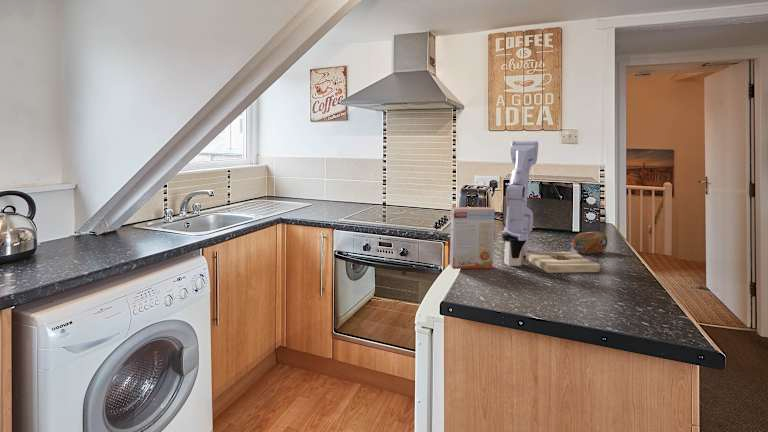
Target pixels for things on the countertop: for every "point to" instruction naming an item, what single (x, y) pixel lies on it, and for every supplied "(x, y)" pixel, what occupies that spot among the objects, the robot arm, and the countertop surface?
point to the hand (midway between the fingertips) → (512, 256)
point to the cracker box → (472, 237)
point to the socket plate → (562, 262)
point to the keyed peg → (508, 256)
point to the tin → (589, 242)
